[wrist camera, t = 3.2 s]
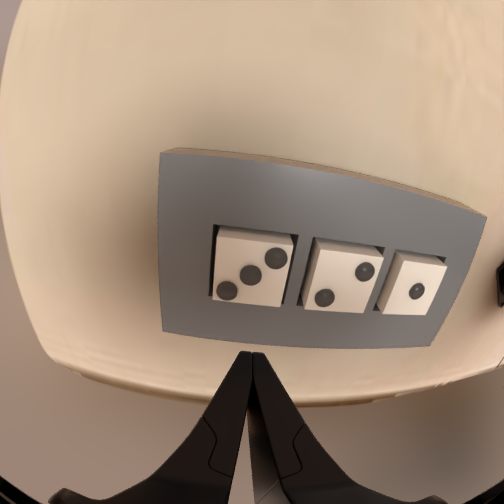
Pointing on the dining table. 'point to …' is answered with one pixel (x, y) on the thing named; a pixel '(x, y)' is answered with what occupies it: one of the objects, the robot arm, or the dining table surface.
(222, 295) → the tile three
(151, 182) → the dining table surface
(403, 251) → the tile one
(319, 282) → the tile two
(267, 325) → the tile board
